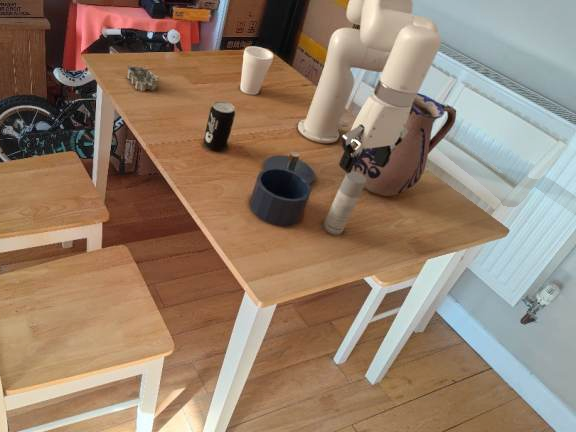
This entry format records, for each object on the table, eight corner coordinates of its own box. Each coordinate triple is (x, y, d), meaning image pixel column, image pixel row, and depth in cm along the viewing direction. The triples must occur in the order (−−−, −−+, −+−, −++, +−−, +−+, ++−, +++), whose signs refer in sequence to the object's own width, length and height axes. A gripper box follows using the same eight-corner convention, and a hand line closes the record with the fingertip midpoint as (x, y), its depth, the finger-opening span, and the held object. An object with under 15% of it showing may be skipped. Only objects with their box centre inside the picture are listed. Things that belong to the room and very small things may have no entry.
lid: (294, 155, 143) (301, 137, 139) (323, 184, 134) (331, 165, 131) (253, 161, 137) (259, 142, 133) (281, 192, 129) (288, 172, 125)
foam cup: (245, 80, 175) (254, 44, 167) (268, 91, 172) (278, 54, 164) (230, 88, 169) (239, 50, 160) (253, 99, 165) (264, 61, 157)
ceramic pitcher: (332, 168, 142) (367, 85, 126) (392, 163, 149) (433, 84, 133) (369, 209, 130) (412, 122, 114) (432, 201, 137) (481, 120, 121)
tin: (282, 188, 130) (291, 164, 125) (311, 220, 122) (321, 196, 117) (240, 196, 125) (247, 171, 120) (267, 230, 116) (276, 204, 112)
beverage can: (224, 154, 138) (234, 115, 130) (200, 148, 138) (209, 108, 130) (228, 142, 143) (238, 104, 135) (205, 136, 143) (213, 97, 135)
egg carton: (158, 91, 159) (160, 78, 156) (135, 92, 156) (137, 79, 153) (147, 75, 166) (148, 63, 163) (125, 75, 163) (126, 63, 160)
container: (326, 218, 123) (349, 168, 114) (345, 227, 122) (369, 177, 113) (320, 228, 120) (343, 177, 111) (339, 237, 119) (363, 186, 109)
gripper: (412, 82, 105) (379, 152, 116) (348, 86, 97) (319, 161, 108) (439, 100, 100) (402, 171, 111) (374, 105, 93) (341, 182, 103)
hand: (361, 166), depth 109 cm, fingers open, 9 cm apart
